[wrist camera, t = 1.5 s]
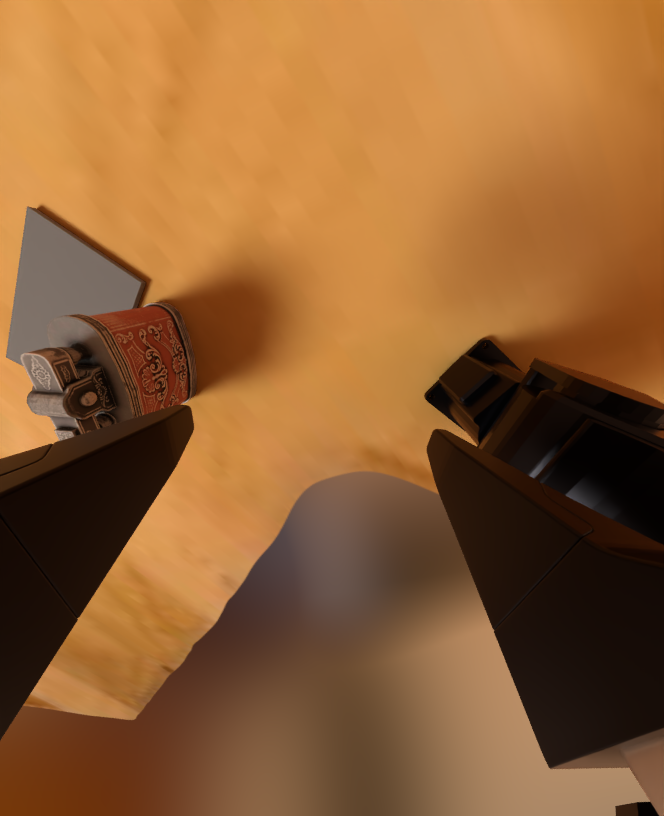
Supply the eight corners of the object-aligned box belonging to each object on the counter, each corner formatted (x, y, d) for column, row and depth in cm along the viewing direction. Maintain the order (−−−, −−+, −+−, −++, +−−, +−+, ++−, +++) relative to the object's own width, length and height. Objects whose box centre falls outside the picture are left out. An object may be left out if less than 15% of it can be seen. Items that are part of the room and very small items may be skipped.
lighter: (138, 299, 18) (-43, 321, 9) (185, 304, 18) (49, 329, 10) (163, 397, 22) (50, 478, 13) (202, 400, 22) (115, 482, 13)
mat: (146, 282, 18) (141, 282, 17) (103, 401, 22) (98, 404, 22) (35, 208, 16) (27, 206, 15) (13, 355, 20) (6, 357, 20)
